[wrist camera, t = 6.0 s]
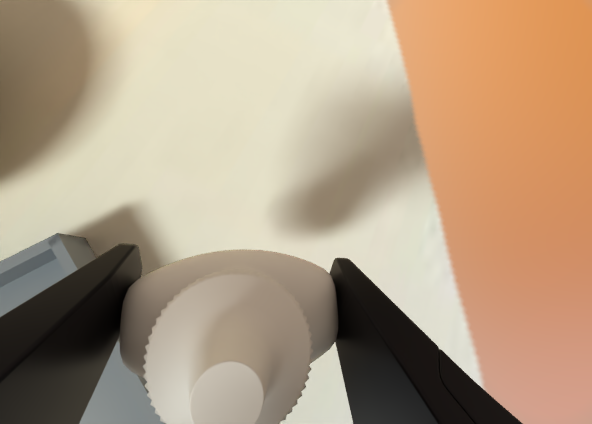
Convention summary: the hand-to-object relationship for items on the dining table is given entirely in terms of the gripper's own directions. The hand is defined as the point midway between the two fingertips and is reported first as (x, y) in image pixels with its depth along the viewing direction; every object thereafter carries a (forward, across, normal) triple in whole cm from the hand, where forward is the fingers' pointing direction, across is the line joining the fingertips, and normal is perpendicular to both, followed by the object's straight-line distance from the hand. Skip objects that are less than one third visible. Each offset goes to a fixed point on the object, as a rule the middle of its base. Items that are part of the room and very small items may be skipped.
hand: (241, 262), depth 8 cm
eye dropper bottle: (+4, 0, +6) cm, 7 cm away
